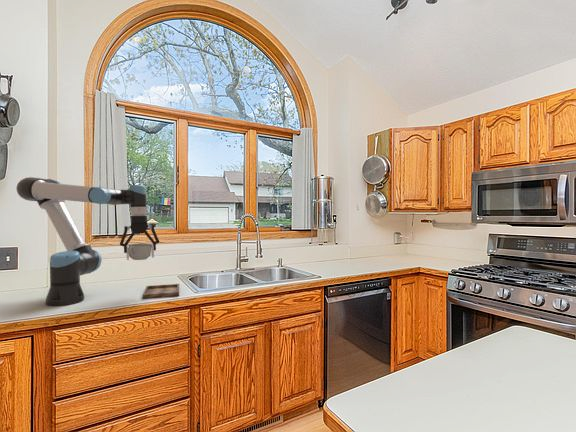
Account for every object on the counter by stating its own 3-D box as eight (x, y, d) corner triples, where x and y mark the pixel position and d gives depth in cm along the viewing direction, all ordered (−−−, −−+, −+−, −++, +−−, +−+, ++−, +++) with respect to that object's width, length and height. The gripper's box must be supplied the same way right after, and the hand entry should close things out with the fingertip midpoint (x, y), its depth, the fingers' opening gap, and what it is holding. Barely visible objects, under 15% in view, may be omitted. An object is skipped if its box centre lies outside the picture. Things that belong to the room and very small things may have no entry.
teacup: (140, 257, 175) (140, 242, 175) (156, 258, 171) (156, 243, 171) (118, 261, 162) (118, 245, 162) (135, 262, 158) (134, 245, 158)
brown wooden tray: (142, 298, 160) (142, 294, 160) (146, 289, 179) (146, 285, 179) (179, 296, 165) (179, 292, 165) (179, 287, 184) (179, 283, 184)
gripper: (113, 216, 157) (115, 261, 158) (164, 214, 169) (166, 256, 169) (112, 216, 164) (114, 259, 164) (161, 214, 176) (163, 255, 176)
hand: (140, 258), depth 167 cm, fingers closed on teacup, 11 cm apart
